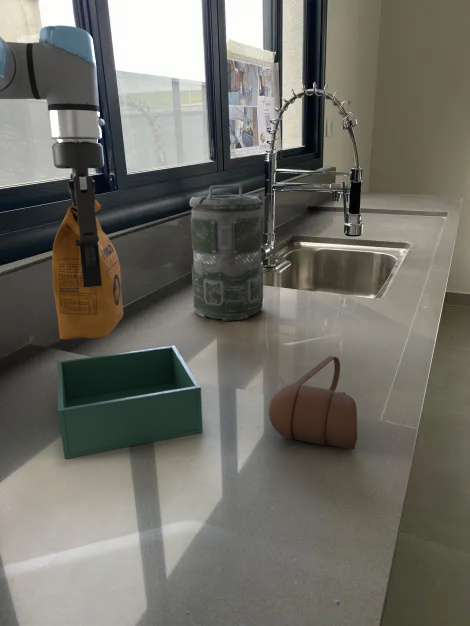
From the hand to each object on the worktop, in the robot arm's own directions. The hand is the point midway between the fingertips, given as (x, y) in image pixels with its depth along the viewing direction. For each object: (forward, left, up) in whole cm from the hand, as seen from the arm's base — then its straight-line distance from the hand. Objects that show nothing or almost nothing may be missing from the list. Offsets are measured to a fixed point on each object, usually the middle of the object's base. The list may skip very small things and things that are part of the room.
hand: (90, 276), depth 83 cm
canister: (+30, +18, -15) cm, 38 cm away
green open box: (+2, -22, -15) cm, 27 cm away
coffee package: (0, 0, -10) cm, 10 cm away
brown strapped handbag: (+27, -32, -15) cm, 45 cm away
